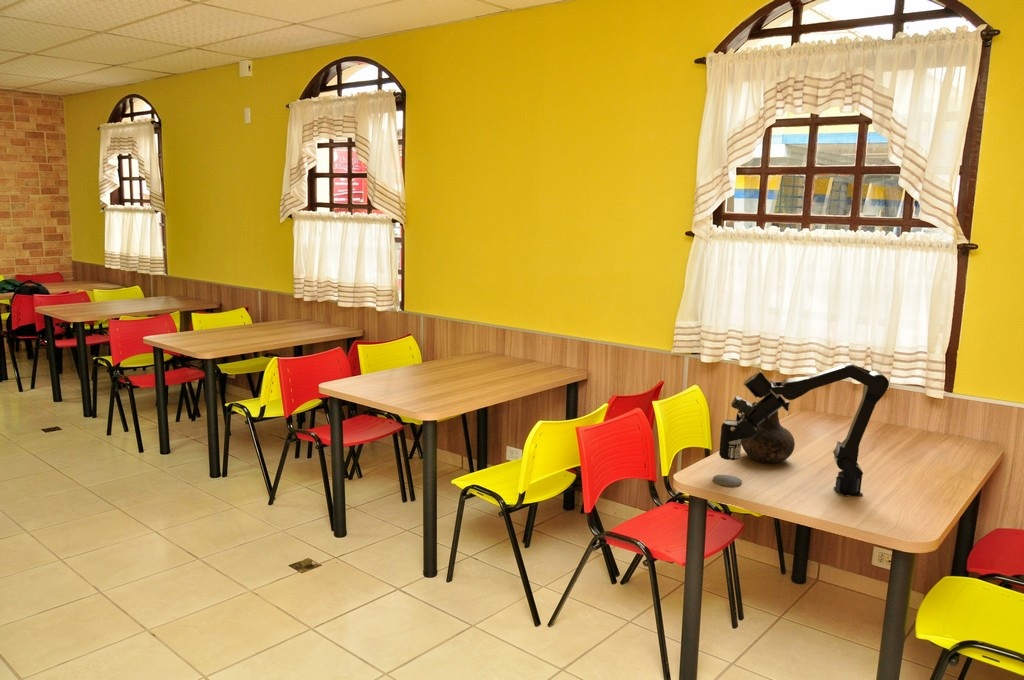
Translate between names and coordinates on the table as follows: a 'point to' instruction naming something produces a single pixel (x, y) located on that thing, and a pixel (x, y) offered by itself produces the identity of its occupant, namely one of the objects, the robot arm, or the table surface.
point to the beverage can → (729, 448)
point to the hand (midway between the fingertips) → (726, 437)
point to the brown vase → (770, 441)
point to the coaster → (727, 480)
